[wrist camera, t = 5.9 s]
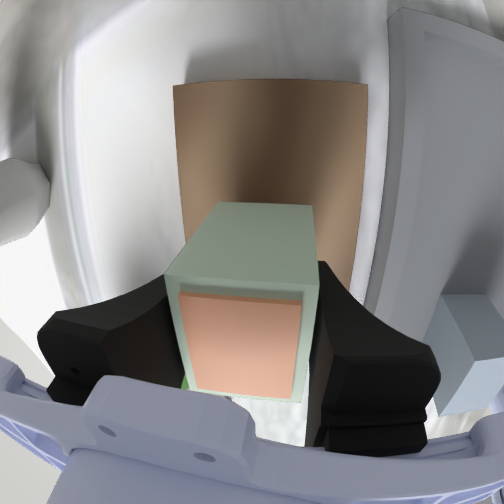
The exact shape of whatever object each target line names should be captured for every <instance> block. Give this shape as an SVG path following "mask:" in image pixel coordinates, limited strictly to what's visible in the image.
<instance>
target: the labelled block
mask: <svg viewBox="0 0 504 504" xmlns="http://www.w3.org/2000/svg"><path fill="white" fill-rule="evenodd" d="M164 278H165V283H166V289H167V294H168V299H169V304H170V309H171V313H172V318H173V323H174V327H175V332H176V336H177V341H178V345H179V349H180V353H181V357H182V361H183V365H184V369H185V373H186V377H187V381H188V384H189V388H190V390H191V391H197V392H203V393H209V394H216V395H223V396H231V397H239V398H247V399H257V400H267V401H280V402H295V403H301V401H302V396H303V391H304V385H305V380H306V374H307V368H308V362H309V356H310V350H311V343H312V337H313V330H314V323H315V316H316V309H317V301H318V293H319V272H318V260H317V248H316V238H315V228H314V218H313V209H312V205H295V204H273V203H243V202H218V203H217V204H216V206H215V207H214V208H213V209H212V211H211V212H210V213H209V215H208V216H207V217H206V218H205V220H204V221H203V222H202V224H201V225H200V226H199V228H198V229H197V230H196V231H195V233H194V234H193V235H192V237H191V238H190V239H189V241H188V242H187V243H186V245H185V246H184V247H183V249H182V250H181V251H180V253H179V254H178V255H177V257H176V258H175V259H174V261H173V262H172V264H171V265H170V266H169V268H168V269H167V270H166V272H165V273H164Z"/></svg>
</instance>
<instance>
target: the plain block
mask: <svg viewBox="0 0 504 504" xmlns="http://www.w3.org/2000/svg"><path fill="white" fill-rule="evenodd" d="M422 343H424V344H427V345H429V346H430V347H431V350H432V352H433V354H434V356H435V358H436V361H437V363H438V366H439V369H440V372H441V382H440V384H439V386H438V389H437V390H436V392H435V393H434V395H433V398H434V401H435V405H436V409H437V412H438V416H439V417H441V416H447V415H453V414H459V413H464V412H470V411H474V410H479V409H484V408H487V407H488V405H489V404H490V403H491V401H492V400H493V399H494V397H495V396H496V395H497V393H498V392H499V391H500V389H501V388H502V387H503V385H504V320H503V319H502V317H501V316H500V314H499V313H498V311H497V310H496V308H495V307H494V305H493V304H492V303H491V301H490V300H489V298H488V297H487V296H486V294H440V297H439V299H438V302H437V305H436V308H435V311H434V313H433V316H432V319H431V321H430V324H429V326H428V329H427V331H426V334H425V336H424V339H423V341H422Z"/></svg>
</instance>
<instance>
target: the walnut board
mask: <svg viewBox="0 0 504 504" xmlns="http://www.w3.org/2000/svg"><path fill="white" fill-rule="evenodd" d="M173 100H174V119H175V135H176V149H177V162H178V174H179V185H180V195H181V205H182V215H183V224H184V232H185V241H186V243H187V242H188V241H189V239H190V238H191V237H192V235H193V234H194V233H195V231H196V230H197V229H198V228H199V226H200V225H201V224H202V222H203V221H204V220H205V218H206V217H207V216H208V215H209V213H210V212H211V211H212V209H213V208H214V207H215V206H216V204H217V203H218V202H243V203H273V204H295V205H312V209H313V218H314V228H315V238H316V248H317V260H318V261H326V262H327V264H328V265H329V267H330V268H331V270H332V271H333V272H334V274H335V275H336V277H337V278H338V279H339V281H340V282H341V283H342V284H343V286H344V287H345V288H346V289H347V291H348V292H349V287H350V281H351V275H352V269H353V263H354V256H355V249H356V242H357V235H358V227H359V219H360V210H361V201H362V191H363V180H364V167H365V153H366V135H367V107H368V84H359V83H350V82H339V81H325V80H306V79H244V80H225V81H212V82H201V83H191V84H182V85H175V86H173Z"/></svg>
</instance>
